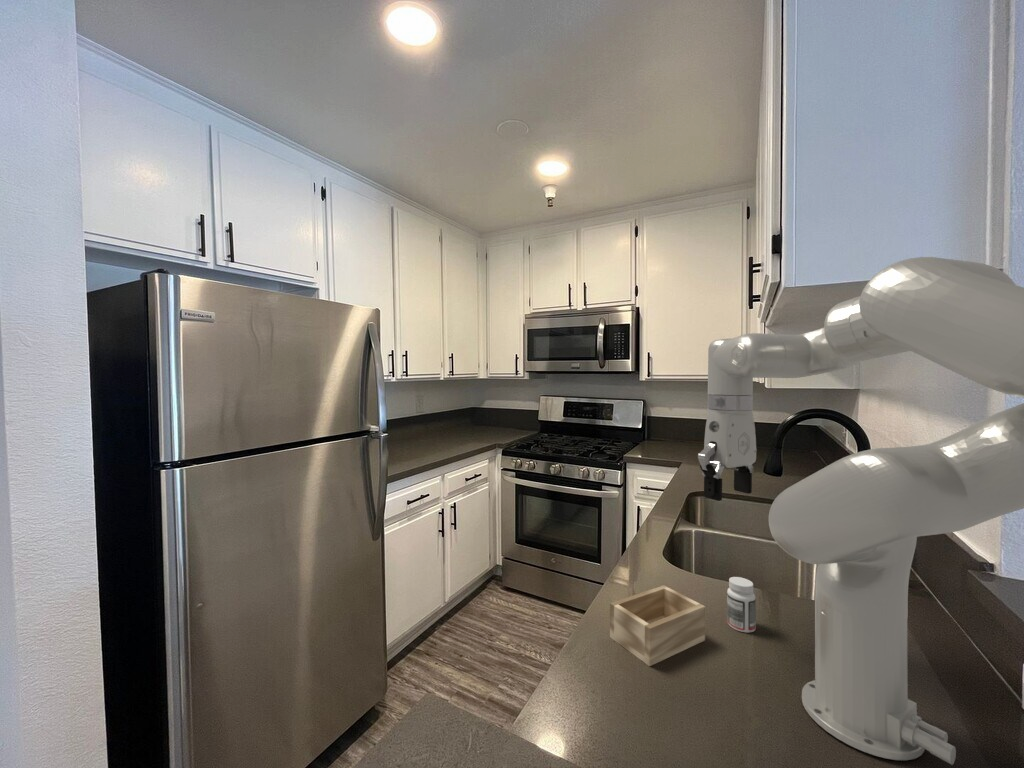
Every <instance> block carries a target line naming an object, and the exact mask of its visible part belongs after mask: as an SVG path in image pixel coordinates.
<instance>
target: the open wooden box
mask: <svg viewBox="0 0 1024 768" xmlns="http://www.w3.org/2000/svg"><path fill="white" fill-rule="evenodd" d="M609 637H610V638H611V639H612V640H613V641H615V642H616V643H617V644H619V645H620V646H621V647H623V648H624V649H625V650H627V651H628V652H629V653H631V654H632V655H634V656H635V657H636V658H638V659H639V660H640V661H642V662H643V663H644V664H645V665H647V666H648V667H651V666H654V665H655V664H658V663H660V662H662V661H665V660H666V659H668V658H670V657H671V658H672V656H675V655H676V654H679V653H681V652H683V651H685V650H687V649H689V648H692V647H694V646H696V645H698V644H700V643H702V642H705V641H706V606H705V605H703V604H701V603H700V602H698V601H695V600H694V599H692V598H689V597H687V596H686V595H684V594H682V593H680V592H678V591H676V590H674V589H672V588H670V587H668V586H666V585H664V584H662V585H660V586H657V587H654V588H651V589H648V590H645V591H642V592H640V593H637V594H633V595H631V596H627V597H624V598H622V599H619V600H616V601H612V602H610V604H609Z"/></svg>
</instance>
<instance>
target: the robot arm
mask: <svg viewBox="0 0 1024 768" xmlns="http://www.w3.org/2000/svg"><path fill="white" fill-rule="evenodd" d="M707 349H708V350H707V351H708V353H707V354H708V355H707V356H708V357H707V358H708V359H707V406H706V407H707V409H706V411H707V416H706V422H705V430H704V441H703V443H704V444H703V446H704V447H703V449H702V450H701V451H700V452H699V453H698V454H697V459H698V462H699V469H700V470H701V475H702V477H703V497H704V498H706V499H708V500H709V499H710V500H714V501H717V502H720V501H722V500H723V478H722V477H721V476H722V473H723V471H724V469H725V467H726V468H728V469H733V470H734V471H733V490H734V491H735V492H740V493H744V494H751V493H752V492H753V491H752V489H753V488H752V485H753V482H752V481H753V472H754V463H756V460H757V451H758V450H757V436H756V426H755V418H754V414H753V406H754V405H753V399H754V397H753V396H754V395H753V394H754V391H753V390H754V389H753V388H754V379H767V378H768V379H769V378H770V379H771V378H772V379H782V378H783V379H797V378H799V379H800V378H805V377H811V376H817V375H822V374H826V373H832V372H836V371H837V372H838V371H839V370H845V369H847V368H849V367H852V366H855V365H857V364H860V363H861V362H864V361H869V360H874V359H878V358H883V357H887V356H893V355H898V354H903V353H907V352H912V353H915V354H917V355H918V356H921V357H923V358H924V359H927V360H929V361H931V362H933V363H935V364H937V365H939V366H941V367H943V368H945V369H948V370H949V371H952V372H954V373H955V374H958V375H960V376H962V377H964V378H967V379H968V380H970V381H972V382H975V383H977V384H979V385H981V386H984V387H986V388H988V389H991V390H993V391H996V392H999V393H1002V394H1006V395H1008V396H1014V397H1018V398H1022V399H1024V286H1021V285H1017V284H1016V283H1015V282H1014V280H1013V279H1012V277H1010V276H1009V275H1008V274H1007V273H1005V272H1004V271H1002V270H1001V269H999V268H997V267H995V266H992V265H990V264H987V263H986V264H985V263H982V262H976V261H971V260H970V261H969V260H962V259H961V260H959V259H953V258H952V259H951V258H942V257H937V256H936V257H934V256H919V257H911V258H907V259H903V260H900V261H899V260H898V261H897V262H895V263H893V264H890V265H888V266H886V267H884V268H882V269H881V270H879V271H878V272H877V273H875V275H873V276H872V277H871V279H869V281H868V282H867V283H866V285H865V286H864V287H863V289H862V291H861V294H860V295H859V296H856V297H853V298H850V299H847V300H844V301H842V302H839V303H837V304H836V305H834V306H832V307H831V308H830V309H829V311H828V312H827V314H826V316H825V319H824V321H823V327H822V328H821V327H820V328H818V329H814V330H812V331H811V330H810V331H807V332H804V333H800V334H787V333H786V334H785V333H784V334H783V333H782V334H781V333H756V332H752V333H746V334H742V335H739V336H736V337H733V338H731V337H730V338H720V339H716V340H713V341H711V342H710V343H709V345H708V348H707ZM714 467H716V468H714ZM720 477H721V478H720ZM1023 509H1024V402H1023V403H1021V404H1017V405H1015V406H1012V407H1010V408H1007V409H1005V410H1002V411H1000V412H997V413H994V414H992V415H990V416H988V417H985V418H983V419H981V420H979V421H977V422H975V423H974V424H971V425H970V426H968V427H965V428H964V429H962V430H959V431H957V432H955V433H953V434H951V435H949V436H946V437H944V438H941V439H939V440H936V441H933V442H930V443H927V444H923V445H913V446H911V445H910V446H899V447H898V446H897V447H896V446H895V447H881V448H871V449H867V450H862V451H861V450H860V451H858V452H855V453H852V454H849V455H847V456H843V457H842V458H840V459H838V460H835V461H834V462H832V463H830V464H829V465H826V466H824V468H821V469H819V470H818V471H816V472H814V473H812V474H811V475H808V476H807V477H805V478H803V479H801V480H800V481H798V482H796V483H794V484H792V485H791V486H788V487H787V488H785V489H784V490H783V491H781V492H780V493H779V494H778V495H777V496H776V497H775V499H774V500H773V502H772V504H771V506H770V509H769V511H768V512H769V513H768V526H769V531H770V533H771V536H772V538H773V539H774V542H775V543H776V544H777V545H778V546H779V548H780V549H782V551H784V552H786V554H787V555H789V556H791V557H792V558H794V559H796V560H798V561H801V562H804V563H806V564H807V563H808V564H812V565H817V568H816V574H815V581H814V582H815V586H814V588H815V589H814V590H815V591H814V592H815V593H814V680H811V681H809V682H807V683H805V684H804V685H803V687H802V689H801V701H802V705H803V707H804V709H805V711H806V712H807V714H808V715H809V716H810V718H811V719H812V720H813V721H815V723H816V724H817V725H818V726H820V727H821V728H822V729H823V730H824V731H825V732H827V733H829V734H830V735H831V736H833V737H834V738H836V739H838V740H839V741H841V742H842V743H844V744H846V745H848V746H850V747H852V748H854V749H857V750H858V751H861V752H863V753H866V754H869V755H871V756H874V757H878V758H883V759H886V760H891V761H892V760H893V761H909V760H910V761H911V760H915V759H917V758H919V757H922V755H923V753H925V750H926V751H928V752H929V753H930V754H931V755H933V756H935V757H937V758H939V759H940V760H942V761H944V762H946V763H948V764H950V765H951V766H953V765H954V763H955V761H956V757H957V756H956V754H957V749H956V746H954V745H952V744H950V743H948V741H949V736H948V735H949V734H948V732H946V731H944V730H942V729H940V728H939V727H937V726H935V725H931V724H929V723H927V722H926V721H924V720H922V719H923V718H922V717H921V716H919V715H918V712H917V711H918V710H917V709H918V708H917V706H918V705H917V702H915V701H914V700H911V699H909V698H908V617H909V616H908V613H909V612H908V611H909V610H908V607H909V605H908V604H909V601H908V600H909V599H908V598H909V597H908V596H909V582H910V575H911V570H912V569H911V568H912V564H913V560H914V555H915V552H916V547H917V539H918V537H926V536H934V535H941V534H942V535H943V534H949V533H956V532H961V531H963V530H966V529H969V528H972V527H975V526H978V525H979V524H982V523H985V522H988V521H990V520H994V519H996V518H998V517H1002V516H1004V515H1008V514H1010V513H1013V512H1017V511H1020V510H1023Z"/></svg>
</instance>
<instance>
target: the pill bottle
mask: <svg viewBox="0 0 1024 768" xmlns="http://www.w3.org/2000/svg"><path fill="white" fill-rule="evenodd" d="M728 586H729V587H728V588H727V590H726V607H727V608H726V621H727V625H729V627H731V628H732V629H733V630H735V631H738V632H742V633H753V632H755V631H756V628H757V627H756V625H757V613H756V612H757V611H756V610H757V608H756V606H757V604H756V602H757V601H756V595H755V593H754V583H753V581H751V580H749V579H748V578H744V577H741V576H732V577H729V579H728Z"/></svg>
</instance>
